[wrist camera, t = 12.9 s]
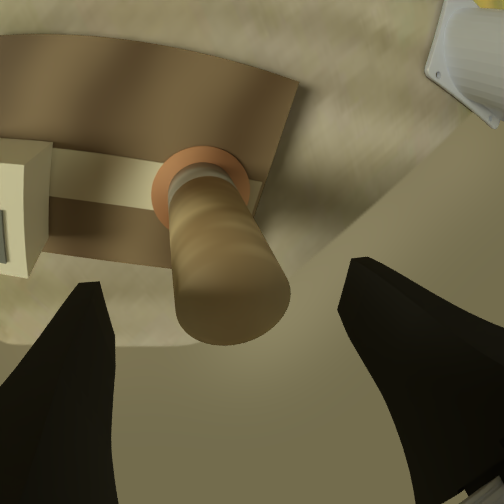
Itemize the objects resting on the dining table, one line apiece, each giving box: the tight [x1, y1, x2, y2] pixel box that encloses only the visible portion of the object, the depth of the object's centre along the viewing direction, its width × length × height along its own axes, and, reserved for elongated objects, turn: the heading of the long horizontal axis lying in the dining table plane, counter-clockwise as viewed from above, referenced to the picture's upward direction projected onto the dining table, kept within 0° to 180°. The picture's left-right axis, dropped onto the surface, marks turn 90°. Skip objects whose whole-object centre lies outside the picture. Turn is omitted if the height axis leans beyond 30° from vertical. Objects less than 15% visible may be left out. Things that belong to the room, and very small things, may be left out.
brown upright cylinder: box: [168, 162, 291, 346], centre depth 12 cm, size 3×3×8 cm
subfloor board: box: [0, 34, 299, 269], centre depth 14 cm, size 16×11×2 cm
